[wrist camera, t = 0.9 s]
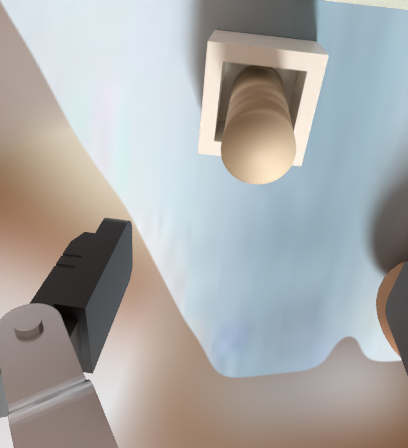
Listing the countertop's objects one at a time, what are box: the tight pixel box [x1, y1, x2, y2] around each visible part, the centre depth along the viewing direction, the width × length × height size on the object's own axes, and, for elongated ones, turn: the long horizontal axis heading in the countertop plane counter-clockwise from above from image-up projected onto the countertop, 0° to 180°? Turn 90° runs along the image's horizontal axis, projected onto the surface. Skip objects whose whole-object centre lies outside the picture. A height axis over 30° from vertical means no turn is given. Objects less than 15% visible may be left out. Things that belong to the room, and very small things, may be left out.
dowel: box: [221, 65, 296, 184], centre depth 23 cm, size 4×4×11 cm
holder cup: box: [198, 30, 329, 166], centre depth 27 cm, size 7×7×5 cm
